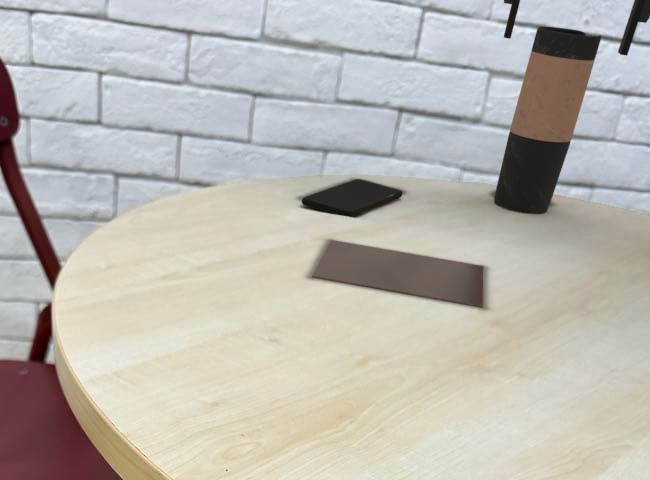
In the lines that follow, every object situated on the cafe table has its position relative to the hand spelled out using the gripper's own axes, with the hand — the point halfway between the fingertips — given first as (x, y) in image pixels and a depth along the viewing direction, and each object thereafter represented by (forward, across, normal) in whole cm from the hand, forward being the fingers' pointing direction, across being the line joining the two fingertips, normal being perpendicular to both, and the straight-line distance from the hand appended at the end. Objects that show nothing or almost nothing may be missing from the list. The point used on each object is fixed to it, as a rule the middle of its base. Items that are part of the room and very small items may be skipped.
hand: (564, 45), depth 101 cm
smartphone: (+19, -21, -12) cm, 30 cm away
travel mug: (+19, 0, 0) cm, 19 cm away
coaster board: (+18, -13, -38) cm, 44 cm away
